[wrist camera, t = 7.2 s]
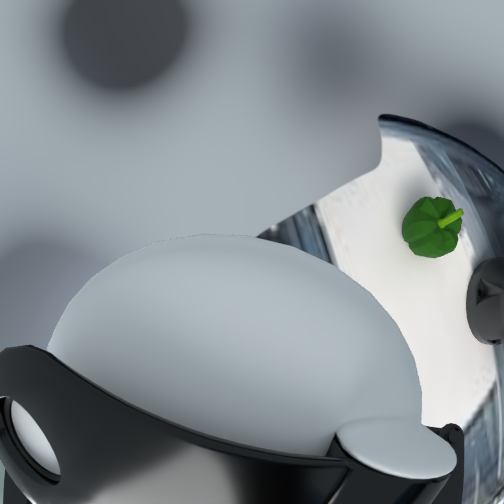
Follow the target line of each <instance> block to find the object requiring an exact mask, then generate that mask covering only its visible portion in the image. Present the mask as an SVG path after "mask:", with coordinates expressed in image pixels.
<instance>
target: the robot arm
mask: <svg viewBox="0 0 504 504" xmlns="http://www.w3.org/2000/svg"><path fill="white" fill-rule="evenodd" d="M466 310H467V319H468V323H469V326H470V329H471V331H472V333H473V335H474V336H475V338H476V339H477V340H478V341H480V342H481V343H483V344H489V345H499V344H502V343H504V258H501V257H497V258H492V259H488V260H486V261H484V262H482V263H481V264H480V265H479V266H478V267H477V269H476V270H475V272H474V274H473V276H472V278H471V281H470V284H469V288H468V293H467V302H466ZM425 427H427V428H428V429H430V430H431V431H432V432H434V433H435V434H437V435H438V436H439V437H441V438H442V439H444V440H445V441H446V442H448V443H449V444H450V446H451V447H452V448H453V449H454V451H455V454H456V457H457V463H456V466H455V468H454V469H453V472H452V474H451V476H450V477H449V479H448V480H447V482H446V483H445V485H444V486H443V488H442V489H441V491H440V492H439V493H438V495H437V496H436V498H435V499H434V500H433V502H432V503H431V504H461V502H462V492H463V479H464V434H463V431H462V429H461V428H460V427H459V426H458V425H456V424H453V423H450V424H446V425H445V426H444V427H442V428H436V427H428V426H425ZM3 497H4V498H3V504H32V503H31V502H30V501H29V500H28V499H27V498H26V497H25V495H24V494H23V493H22V491H21V490H20V489H19V488H18V486H17V485H16V483H15V482H14V481H13V479H12V478H11V477H10V475H9V474H8V472H7V470H6V469H5V479H4V496H3Z"/></svg>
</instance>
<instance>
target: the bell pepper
mask: <svg viewBox="0 0 504 504" xmlns="http://www.w3.org/2000/svg"><path fill="white" fill-rule="evenodd" d="M463 214H464V212H463V210H462V209H461V208H460V209H458V210H457V211H456V210H455V207H454V205H453V203H452V201H451V200H448V199H445V198H441V197H436V198H435V199H433V198H431V197H423V198H421V199H419V200H418V201H417V202H416V203H415V204H414V205H413V207H412V208H411V209H410V211H409V212H408V213H407V215H406V217H405V218H404V221H403V224H402V234H403V238H404V241H406V242H409V247H410V249H411V250H412V251H413V252H414V254H415V255H419V256H424V257H430V258H437V257H441V256H443V255H445V254H447V253H450V252H452V251H453V250H454V249H455V248H456V246H457V242H458V235H457V234H458V233H459V232H460V230H461V224H462V219H461V216H462V215H463Z"/></svg>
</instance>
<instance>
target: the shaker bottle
mask: <svg viewBox="0 0 504 504" xmlns="http://www.w3.org/2000/svg"><path fill="white" fill-rule="evenodd" d="M421 412H422V391H421V386H420V381H419V377H418V372H417V368H416V364H415V360H414V357H413V355H412V353H411V351H410V348H409V346H408V344H407V342H406V340H405V338H404V337H403V335H402V333H401V331H400V329H399V327H398V325H397V323H396V322H395V321H394V320H393V319H392V317H391V316H390V315H389V314H388V313H387V311H386V310H385V309H384V308H383V307H382V306H381V304H380V303H379V302H378V301H377V300H376V299H375V297H374V296H373V295H372V294H371V293H370V292H369V291H368V290H366V289H365V288H364V287H362V286H361V285H360V284H358V283H357V282H356V281H354V280H353V279H352V278H350V277H349V276H348V275H346V274H345V273H344V272H342V271H341V270H340V269H338V268H337V267H336V266H334V265H332V264H329V263H327V262H325V261H323V260H321V259H319V258H317V257H314V256H312V255H310V254H308V253H306V252H304V251H301V250H299V249H297V248H295V247H293V246H288V245H284V244H280V243H276V242H272V241H267V240H263V239H259V238H255V237H251V236H243V235H215V234H213V235H212V234H199V235H193V236H187V237H181V238H175V239H169V240H164V241H158V242H156V243H153V244H151V245H148V246H146V247H143V248H141V249H138V250H136V251H133V252H131V253H129V254H126V255H124V256H121V257H120V258H119V259H117V260H116V261H114V262H113V263H111V264H110V265H108V266H107V267H106V268H104V269H103V270H101V271H100V272H98V273H97V274H96V275H94V276H93V277H92V278H91V279H90V280H89V281H88V282H87V283H86V284H85V285H84V286H83V287H82V289H81V290H80V291H79V292H78V293H77V294H76V295H75V296H74V298H73V299H72V300H71V301H70V302H69V304H68V306H67V307H66V309H65V311H64V313H63V315H62V317H61V319H60V320H59V322H58V324H57V326H56V328H55V330H54V332H53V336H52V338H51V340H50V342H49V345H48V348H47V351H45V350H43V349H40V348H38V347H35V346H33V345H24V346H18V347H9V348H5V349H4V350H3V351H1V352H0V460H1V462H2V463H3V465H4V467H5V469H6V470H7V472H8V474H9V475H10V477H11V478H12V479H13V481H14V482H15V483H16V485H17V486H18V488H19V489H20V490H21V491H22V493H23V494H24V495H25V497H26V498H27V499H28V500H29V501H30V502H31V503H32V504H431V503H432V502H433V500H434V499H435V498H436V496H437V495H438V493H439V492H440V491H441V489H442V488H443V486H444V485H445V483H446V482H447V480H448V479H449V477H450V476H451V474H452V472H453V469H454V468H455V466H456V463H457V457H456V454H455V451H454V449H453V448H452V447H451V446H450V444H449V443H448V442H446V441H445V440H444V439H442V438H441V437H439V436H438V435H437V434H435V433H434V432H432V431H431V430H430V429H428V428H427V427H425V426H424V425H423V424H421Z"/></svg>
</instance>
